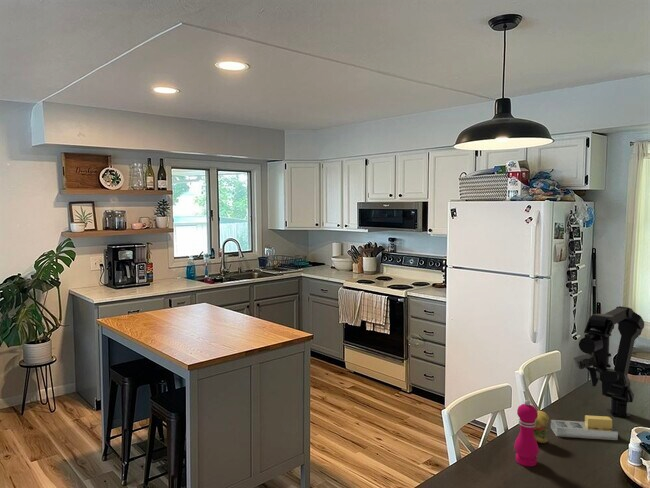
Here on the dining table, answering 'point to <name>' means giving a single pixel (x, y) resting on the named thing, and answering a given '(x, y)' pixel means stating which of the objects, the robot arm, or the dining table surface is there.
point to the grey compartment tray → (581, 430)
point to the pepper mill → (526, 435)
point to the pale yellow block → (598, 422)
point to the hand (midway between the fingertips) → (598, 390)
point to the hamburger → (541, 427)
